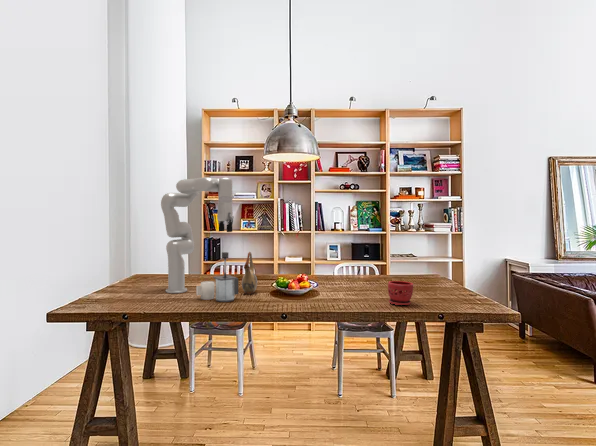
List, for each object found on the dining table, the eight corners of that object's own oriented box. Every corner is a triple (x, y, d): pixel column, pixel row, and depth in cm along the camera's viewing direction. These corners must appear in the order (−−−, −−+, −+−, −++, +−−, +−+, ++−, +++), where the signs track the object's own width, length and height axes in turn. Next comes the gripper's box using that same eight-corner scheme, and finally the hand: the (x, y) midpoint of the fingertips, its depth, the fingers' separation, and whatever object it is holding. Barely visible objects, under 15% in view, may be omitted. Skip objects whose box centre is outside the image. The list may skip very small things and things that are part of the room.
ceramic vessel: (253, 296, 232) (253, 253, 231) (238, 295, 233) (238, 253, 232) (260, 290, 248) (260, 250, 247) (246, 290, 249) (246, 250, 248)
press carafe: (213, 299, 223) (213, 276, 223) (233, 296, 231) (233, 274, 230) (220, 302, 215) (220, 279, 215) (241, 299, 223) (241, 277, 222)
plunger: (217, 281, 222) (217, 252, 222) (227, 280, 226) (227, 251, 226) (222, 283, 217) (222, 253, 216) (233, 282, 221) (233, 252, 220)
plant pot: (408, 308, 206) (409, 285, 206) (384, 305, 213) (384, 282, 213) (415, 303, 217) (416, 281, 217) (392, 300, 224) (392, 279, 224)
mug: (194, 298, 226) (194, 282, 226) (211, 296, 232) (211, 280, 232) (199, 300, 220) (199, 284, 219) (216, 298, 226) (216, 282, 225)
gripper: (212, 200, 225) (212, 231, 225) (226, 200, 211) (226, 232, 212) (224, 200, 229) (224, 230, 230) (238, 200, 215) (238, 232, 216)
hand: (225, 231), depth 221 cm, fingers open, 9 cm apart
